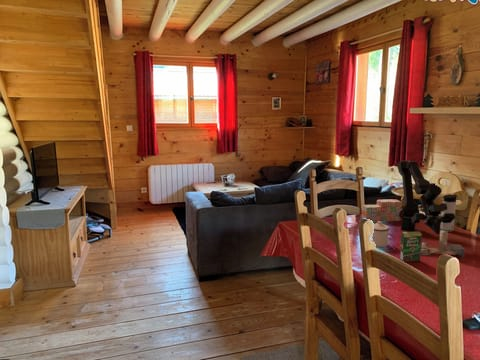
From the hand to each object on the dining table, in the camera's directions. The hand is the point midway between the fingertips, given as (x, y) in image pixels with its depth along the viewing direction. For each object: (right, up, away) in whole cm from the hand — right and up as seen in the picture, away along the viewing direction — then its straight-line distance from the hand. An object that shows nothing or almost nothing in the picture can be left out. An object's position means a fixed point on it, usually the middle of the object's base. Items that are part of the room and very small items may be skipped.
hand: (438, 234), depth 171 cm
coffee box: (-18, -11, -9) cm, 23 cm away
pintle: (-8, -9, -1) cm, 12 cm away
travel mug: (+22, -3, +31) cm, 38 cm away
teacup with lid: (-25, -7, +12) cm, 29 cm away
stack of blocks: (-7, +1, +51) cm, 52 cm away
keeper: (+5, -9, -4) cm, 11 cm away
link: (-2, -8, -2) cm, 9 cm away
